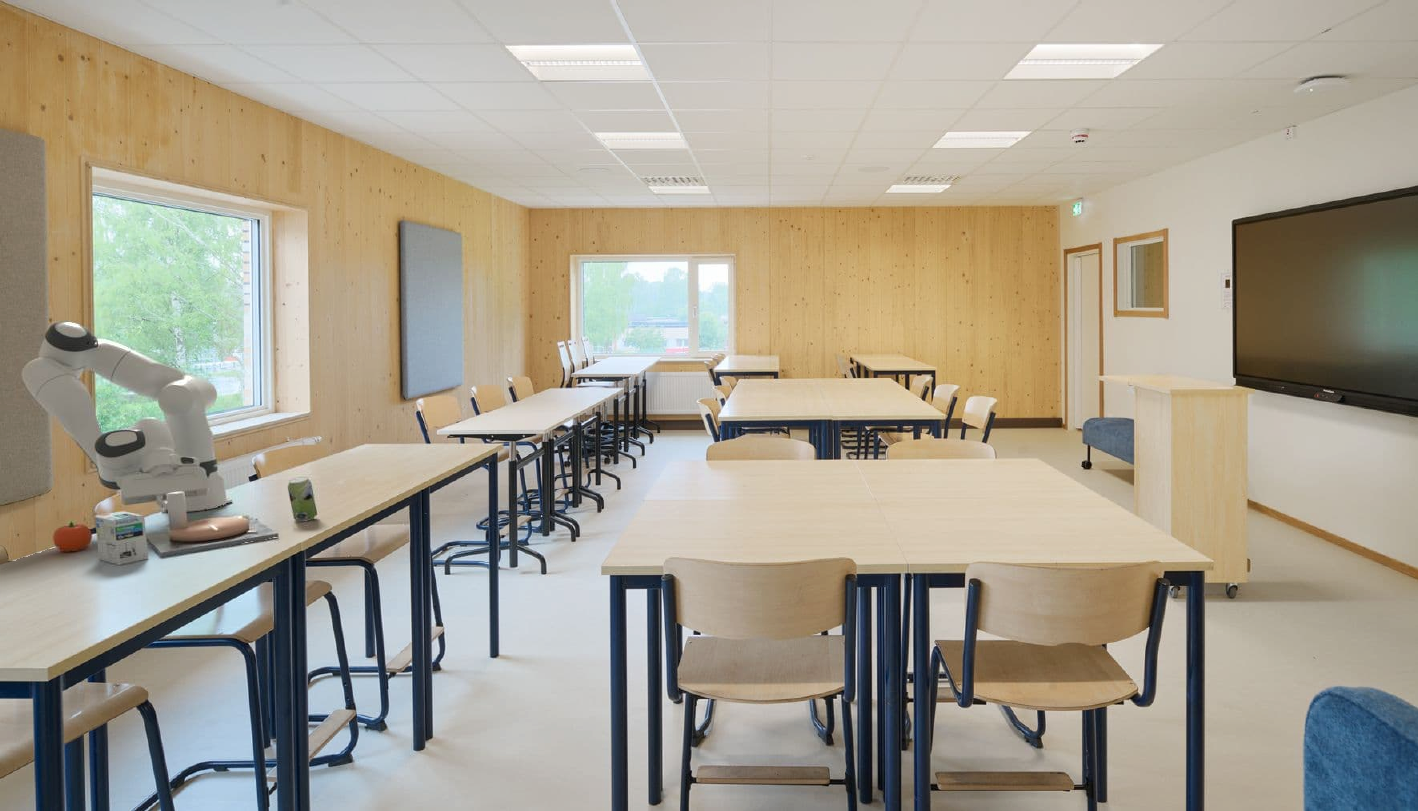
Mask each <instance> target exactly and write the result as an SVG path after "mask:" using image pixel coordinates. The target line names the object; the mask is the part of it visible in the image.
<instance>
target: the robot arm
mask: <svg viewBox="0 0 1418 811" xmlns="http://www.w3.org/2000/svg"><path fill="white" fill-rule="evenodd" d="M84 370H85V371H91V372H93V373H95V374H96V375H97V376H100V377H101V378H103V379H105V380H106V381H109V382H111V383H113V384H115V385H117V386H119V387H122V388H124V389H125V390H127V391H130V392H132V393H134V394H136V395H138V396H142V397H145V398H148V399H152V400H155V401H157V404H158V406H159V408H160V410H161V412H162V413H163V416H164V420H165V421H164V420H162V419H160V418H157V417H144V418H141V419H139V420H137V421H136V422H135V423H134V424H132V425H130V426H129V427H126V428H123V429H122V428H121V429H115V430H110V431H106V432H105V433H103V432H102V430H101V428H100V425H99V421H98V420H97V415H96V410H95V404H94V401H93V397H92V395H91V394H90V391H89V390H88V387H87V386H86V385H85V384H84V383H83V381H81V377H82V375H83V374H84ZM21 378H22V381H23V383H24V384H25V385H24V386H25V387H26V389H27V390H28V391H29V392H30V394H31V396H32V397H33V398H34V399H35V401H36V402H37V403H38V404H39V405H40V406H42V408H43V409H44V410H45V411H46V412H47V413H48V414H49V415H50V416H51V417H53V419H54V420H55V421H56V422H57V423H58V424H59V425H60V426H61V427H62V428H63V429H64V430H65V432H66V433H67V434H69V436H71V438H72V439H73V440H74V441H75V443H76V444H77V446H79V448H80V449H81V450H82V452H83V453H84V454H85V455H86V456H87V457H88V459H89V460H90V461H91V462H92V464H93V465H94V467H95V468H96V469H97V473H98V480H99V482H100V484H101V485H102V486H104V487H105V488H108V489H110V490H116V491H117V490H118V491H120V494H119V495H120V502H121V504H123V505H124V506H128V505H129V506H130V505H138V504H145V503H146V504H147V503H154V502H156V505H157V506H158V507H160V508H161V512H162V513H163V514H165V513H166V514H168V507H167V496H166V494H167V493H171V492H185V502H186V513H187V512H196V511H199V512H200V511H205V509H206V510H211V509H216V508H219V507H218V506H220V507H222V506H221V505H223V506H225V505H227V504H226V503H229V502H232V501H233V499H232V498H228V497H227V491H226V484H225V478H224V476H222V475H221V474H220V473H218V470H219V468H218V460H217V459H216V455H215V442H214V433H213V431H212V430H211V428H210V425H209V421H208V418H207V415H206V412H207V411H209V410H210V409H211V408H212V406H214V404H215V402H216V401H217V399H218V398H217V397H218V391H217V389H216V387H215V386H214V385H213V383H212V382H210V381H208V380H206V379H204V378H201V377H198V376H197V375H194V374H192V373H189V372H186V371H184V370H181V369H178V368H175V367H173V366H171V365H167V364H164V363H162V362H160V361H158V360H155V359H154V358H151V357H149V356H147V355H145V354H143V353H141V352H139V351H137V350H135V349H133V348H131V347H128V346H126V345H123V344H121V343H118V342H114V341H111V340H107V339H106V338H105V339H104V338H97V337H96V335H94V334H93V333H92V332H91V331H90V330H89V329H88V328H86V327H85V326H83V325H81V324H79V323H77V322H74V321H67V320H66V321H59V322H54V323H52V324H51V325H50V327H48V329H47V330H46V332H45V335H44V339H43V341H42V344H41V346H40V348H39V351H38V357H37V358H34V359H32V360H29V362H27V363H26V365H24V367H23V369H22V371H21ZM232 503H233V502H232ZM224 504H225V505H224ZM229 504H230V503H229Z"/></svg>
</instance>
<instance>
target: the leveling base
mask: <svg viewBox="0 0 1418 811" xmlns="http://www.w3.org/2000/svg"><path fill="white" fill-rule="evenodd" d="M233 517H241V518H246V519H248V520H249V529H248V530H247V531H245V532H243V533H240V534H237V535H233V536H229V537H224V538H219V539H212V540H203V541H174V540H171V539H170V537H169V529H168V530H163V531H162V530H161V531H156V532H149V533H146V540H147V542H148V543H147V545H149V546H150V545H151V546H150V547H151V548H152V549H153V550H154V551H155V553H157V555H159V557H160V558H161V559H162V558H166V557H167V558H168V557H173V556H178V555H184V554H185V553H186V554H190V553H191V554H192V553H197V552H204V551H208V550H207V549H209V550H214V549H219V548H220V547H221V548H225V546H227V547H230V546H229V545H233V546H238V545H243V544H242V543H245V542H251V541H257V542H261V541H260V540H263V541H266V540H265V539H269V538H273V537H279V533H278V532H276V531H275V530H273V529H271V527H269V526H267V525H265V524H264V523H262V522H261V521H259V520H257V519H255V518H254V517H250V515H248V514H242V515H240V514H239V515H234V516H233ZM269 540H270V539H269ZM251 543H252V542H251ZM245 544H246V543H245ZM221 548H220V549H221ZM203 550H204V551H203ZM186 554H185V555H186Z"/></svg>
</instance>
